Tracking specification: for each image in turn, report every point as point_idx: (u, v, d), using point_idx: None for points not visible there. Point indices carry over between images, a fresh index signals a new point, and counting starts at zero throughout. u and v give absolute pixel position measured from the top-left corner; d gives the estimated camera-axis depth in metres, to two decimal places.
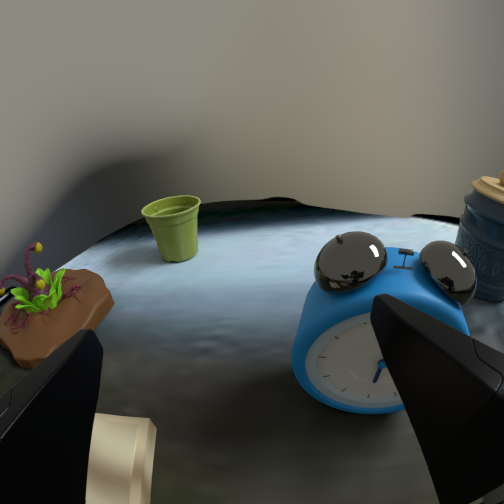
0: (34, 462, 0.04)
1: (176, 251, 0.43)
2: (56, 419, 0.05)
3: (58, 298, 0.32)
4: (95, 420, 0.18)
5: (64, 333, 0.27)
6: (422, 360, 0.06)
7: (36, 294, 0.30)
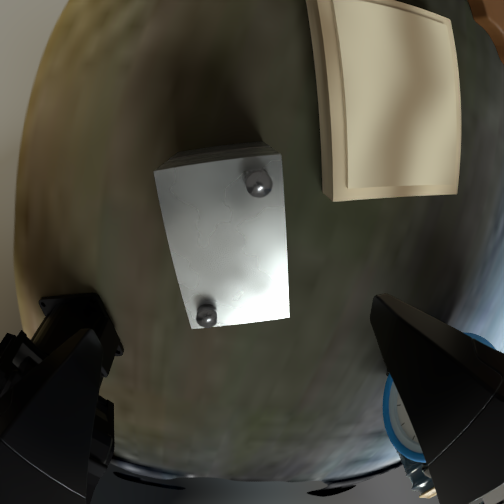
0: (34, 462, 0.04)
1: None
2: (56, 419, 0.05)
3: None
4: (455, 127, 0.14)
5: None
6: (422, 360, 0.06)
7: None
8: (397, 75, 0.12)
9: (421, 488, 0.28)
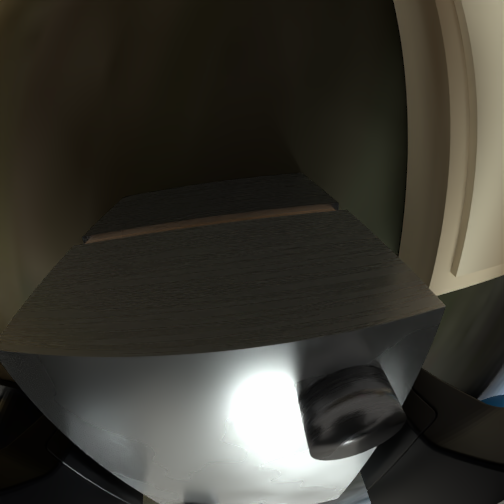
0: (96, 481, 0.04)
1: None
2: None
3: None
4: None
5: None
6: None
7: None
8: None
9: None
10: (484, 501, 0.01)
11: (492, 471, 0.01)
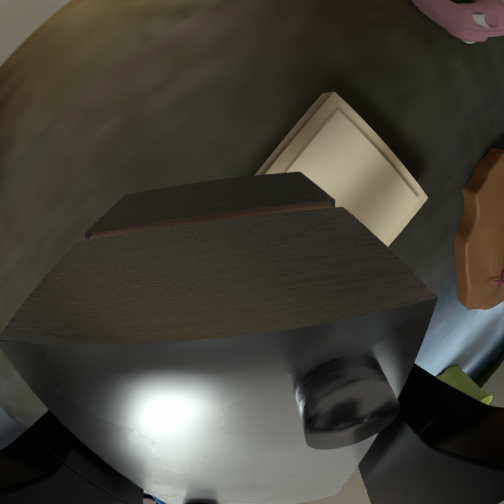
0: (97, 481, 0.04)
1: None
2: None
3: None
4: None
5: (478, 237, 0.19)
6: None
7: None
8: None
9: None
10: (484, 501, 0.01)
11: (492, 471, 0.01)
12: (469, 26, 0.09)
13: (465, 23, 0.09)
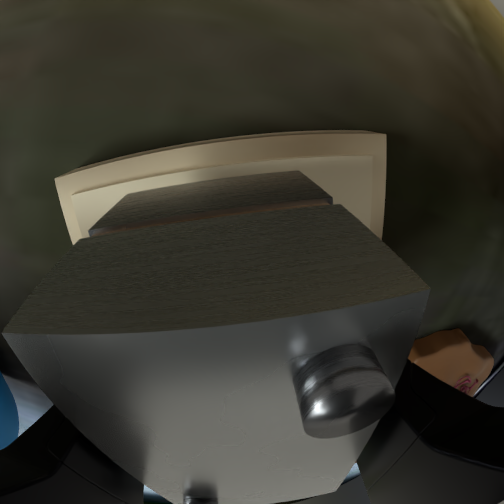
0: (97, 481, 0.04)
1: None
2: None
3: None
4: None
5: None
6: None
7: None
8: None
9: None
10: (483, 501, 0.01)
11: (491, 471, 0.01)
12: None
13: None
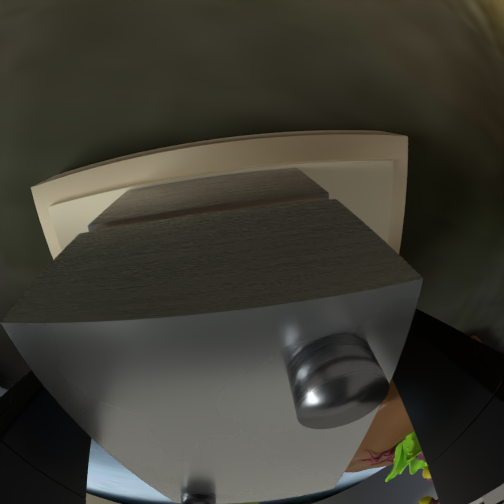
0: (34, 462, 0.04)
1: (228, 503, 0.25)
2: (56, 419, 0.05)
3: (401, 443, 0.19)
4: None
5: (400, 406, 0.16)
6: (422, 360, 0.06)
7: None
8: None
9: None
10: None
11: None
12: None
13: None
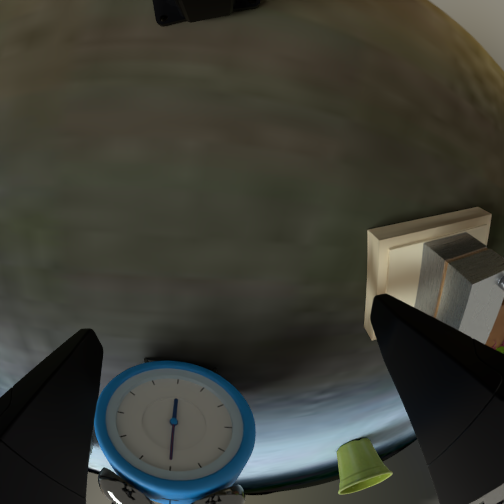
0: (34, 462, 0.04)
1: (356, 449, 0.36)
2: (56, 419, 0.05)
3: None
4: None
5: None
6: (422, 360, 0.06)
7: None
8: None
9: None
10: None
11: None
12: None
13: None
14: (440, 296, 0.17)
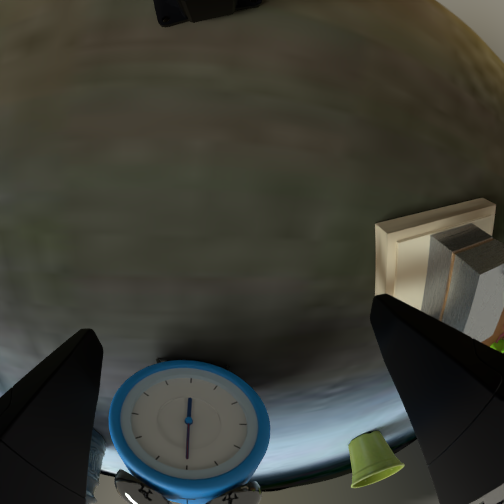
0: (34, 462, 0.04)
1: (367, 442, 0.36)
2: (56, 419, 0.05)
3: None
4: None
5: None
6: (422, 360, 0.06)
7: None
8: None
9: None
10: None
11: None
12: None
13: None
14: (449, 287, 0.17)
